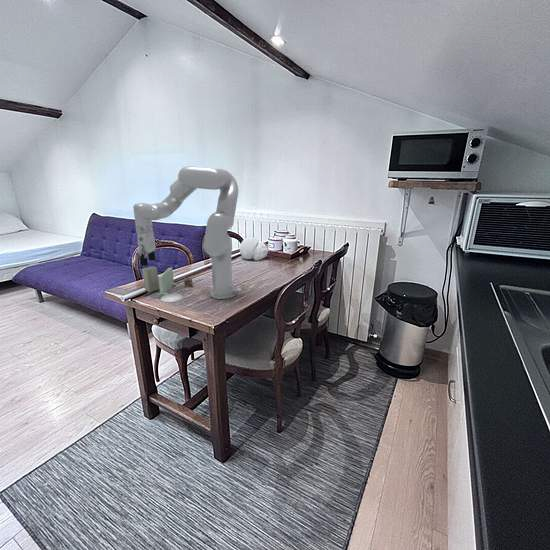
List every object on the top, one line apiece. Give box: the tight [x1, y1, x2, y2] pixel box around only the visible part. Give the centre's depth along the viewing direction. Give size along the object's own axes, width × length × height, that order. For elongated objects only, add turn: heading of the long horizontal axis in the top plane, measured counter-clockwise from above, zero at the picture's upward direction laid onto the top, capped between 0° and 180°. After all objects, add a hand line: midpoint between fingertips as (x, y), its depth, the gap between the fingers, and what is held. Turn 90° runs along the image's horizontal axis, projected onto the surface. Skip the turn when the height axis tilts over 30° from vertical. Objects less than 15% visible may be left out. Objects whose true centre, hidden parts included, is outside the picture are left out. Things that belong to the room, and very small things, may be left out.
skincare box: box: [141, 265, 160, 293], centre depth 156 cm, size 6×4×12 cm
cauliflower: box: [239, 236, 269, 261], centre depth 216 cm, size 20×18×16 cm
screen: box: [156, 267, 178, 297], centre depth 156 cm, size 5×16×10 cm, turn 179°
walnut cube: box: [183, 277, 193, 288], centre depth 164 cm, size 4×4×4 cm
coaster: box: [160, 293, 184, 304], centre depth 147 cm, size 10×10×1 cm
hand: (148, 262), depth 153 cm, fingers open, 9 cm apart
